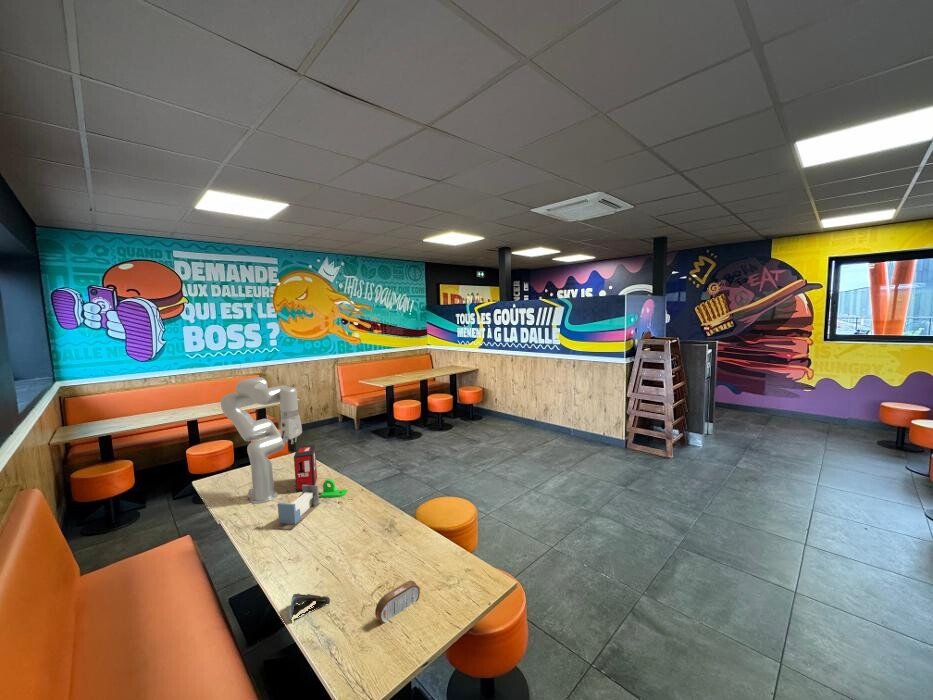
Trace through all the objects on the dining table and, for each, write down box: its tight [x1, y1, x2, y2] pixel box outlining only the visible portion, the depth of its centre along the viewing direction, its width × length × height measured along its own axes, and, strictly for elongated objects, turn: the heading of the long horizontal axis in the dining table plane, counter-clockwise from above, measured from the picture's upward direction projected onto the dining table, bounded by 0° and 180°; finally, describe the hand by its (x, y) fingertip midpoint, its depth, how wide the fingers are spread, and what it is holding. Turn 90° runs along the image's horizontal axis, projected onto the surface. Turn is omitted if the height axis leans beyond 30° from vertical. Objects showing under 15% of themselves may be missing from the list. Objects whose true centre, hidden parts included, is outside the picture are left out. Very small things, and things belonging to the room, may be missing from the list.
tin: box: [374, 580, 421, 624], centre depth 116 cm, size 15×3×8 cm, turn 133°
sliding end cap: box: [277, 502, 301, 524], centre depth 167 cm, size 8×4×9 cm, turn 80°
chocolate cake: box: [288, 592, 331, 619], centre depth 118 cm, size 10×7×12 cm
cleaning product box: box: [293, 443, 318, 493], centre depth 205 cm, size 16×9×20 cm, turn 17°
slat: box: [290, 492, 313, 516], centre depth 175 cm, size 4×16×6 cm, turn 170°
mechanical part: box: [319, 478, 349, 499], centre depth 193 cm, size 12×6×8 cm, turn 89°
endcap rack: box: [272, 484, 322, 531], centre depth 173 cm, size 9×23×10 cm, turn 170°
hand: (292, 451), depth 178 cm, fingers closed
